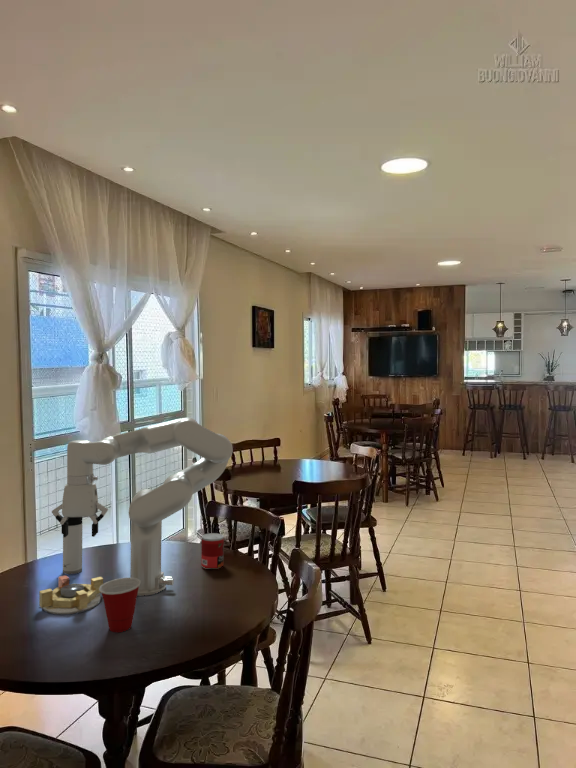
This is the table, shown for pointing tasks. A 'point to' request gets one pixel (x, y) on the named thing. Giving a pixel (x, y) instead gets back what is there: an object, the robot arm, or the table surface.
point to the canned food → (212, 550)
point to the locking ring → (79, 601)
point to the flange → (70, 592)
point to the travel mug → (73, 547)
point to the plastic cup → (120, 602)
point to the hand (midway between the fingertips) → (80, 535)
